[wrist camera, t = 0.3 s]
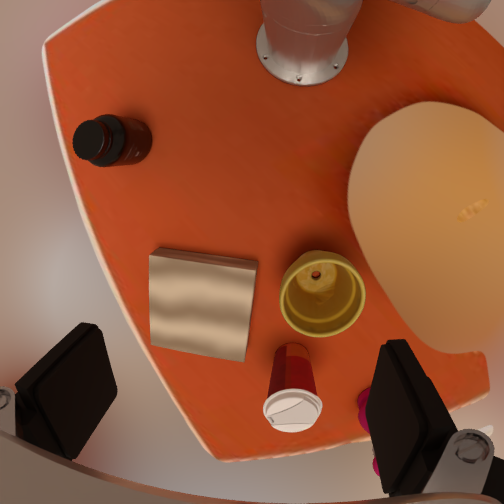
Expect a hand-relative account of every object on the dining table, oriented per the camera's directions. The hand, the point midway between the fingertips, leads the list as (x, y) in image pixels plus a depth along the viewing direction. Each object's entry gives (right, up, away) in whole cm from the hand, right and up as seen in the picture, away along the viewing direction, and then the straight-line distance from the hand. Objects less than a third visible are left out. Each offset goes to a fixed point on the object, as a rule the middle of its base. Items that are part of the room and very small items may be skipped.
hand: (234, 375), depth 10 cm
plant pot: (+10, +1, +36) cm, 38 cm away
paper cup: (+7, -13, +41) cm, 43 cm away
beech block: (-7, -3, +39) cm, 40 cm away
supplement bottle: (-17, +20, +33) cm, 42 cm away
